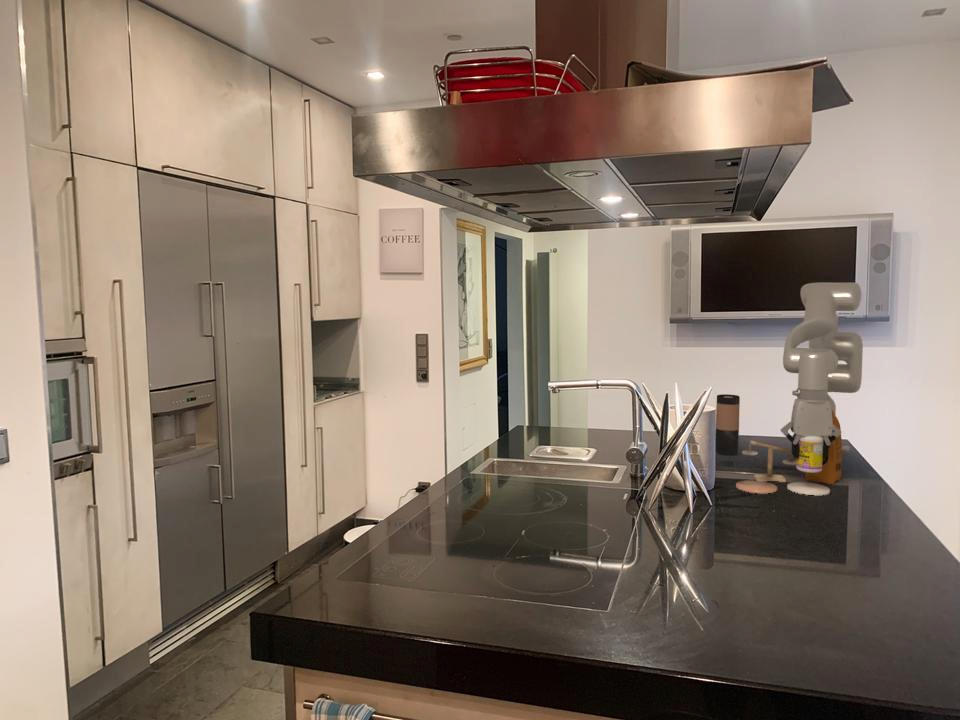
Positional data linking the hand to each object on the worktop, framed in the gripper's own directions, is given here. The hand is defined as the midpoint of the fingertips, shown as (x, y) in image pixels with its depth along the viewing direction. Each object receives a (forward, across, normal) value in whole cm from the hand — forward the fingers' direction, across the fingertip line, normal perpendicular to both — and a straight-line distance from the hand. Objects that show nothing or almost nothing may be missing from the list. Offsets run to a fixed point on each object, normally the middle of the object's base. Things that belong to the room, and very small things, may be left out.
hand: (809, 457), depth 200 cm
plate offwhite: (+9, 0, 0) cm, 9 cm away
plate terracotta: (+9, -14, 0) cm, 17 cm away
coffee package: (+10, +8, +13) cm, 18 cm away
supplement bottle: (+4, 0, 0) cm, 4 cm away
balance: (+9, -8, +10) cm, 16 cm away
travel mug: (+10, -14, +44) cm, 47 cm away
